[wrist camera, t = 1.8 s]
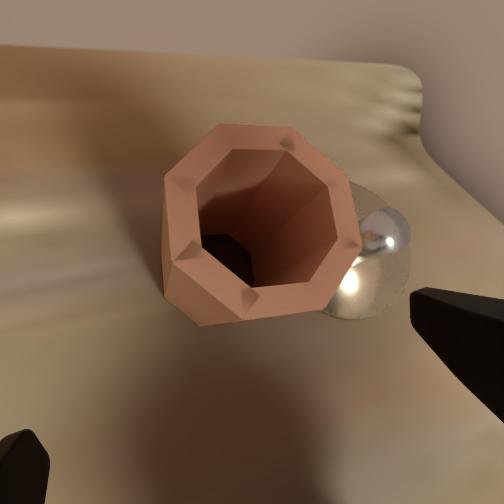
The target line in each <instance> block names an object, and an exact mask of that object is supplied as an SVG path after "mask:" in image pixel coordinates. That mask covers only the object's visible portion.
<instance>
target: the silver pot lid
mask: <svg viewBox="0 0 504 504" xmlns="http://www.w3.org/2000/svg"><path fill="white" fill-rule="evenodd" d="M349 184H350V189H351V193H352V198H353V203H354V208H355V212H356V217H357V222H358V227H359V231H360V236H361V241H362V246H363V247H362V250H361V252H360V253H359V255H358V256H357V258H356V260H355V261H354V263H353V264H352V266H351V268H350V269H349V271H348V272H347V274H346V275H345V277H344V279H343V280H342V282H341V283H340V285H339V287H338V288H337V290H336V291H335V293H334V295H333V296H332V298H331V299H330V301H329V303H328V304H327V306H326V307H325V309H322V310H319V311H321V312H323V313H325V314H327V315H330V316H332V317H336V318H340V319H350V320H351V319H365V318H370V317H374V316H376V315H379V314H381V313H383V312H384V311H386V310H388V309H389V308H390V307H391V306H392V305H394V303H395V302H396V301H397V300H398V299H399V297H400V296H401V294H402V293H403V291H404V289H405V286H406V284H407V281H408V277H409V272H410V249H409V244H408V243H409V240H410V227H409V224H408V222H407V220H406V219H405V217H404V216H403V215H402V214H401V213H400V212H399V211H397V210H395V209H393V208H390V207H389V206H388V205H387V204H386V203H385V202H384V201H383V200H382V199H381V198H380V197H379V196H377V195H376V194H375V193H373V192H371V191H370V190H368V189H366V188H364V187H362V186H359V185H356V184H353V183H349Z"/></svg>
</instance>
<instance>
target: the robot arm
mask: <svg viewBox="0 0 504 504" xmlns="http://www.w3.org/2000/svg"><path fill="white" fill-rule="evenodd" d="M409 299H410V320H411V324H412V326H413V327H414V329H415V330H416V332H417V333H418V334H419V335H420V336H421V337H422V338H423V340H424V341H425V342H426V343H427V344H428V345H429V347H430V348H431V349H432V350H433V351H434V352H435V353H436V355H437V356H438V357H439V358H440V359H441V360H442V361H443V363H444V364H445V365H446V366H447V367H448V368H449V370H450V371H451V372H452V373H453V374H454V375H455V376H456V377H457V378H458V379H459V380H460V381H461V382H462V383H463V384H464V385H465V386H466V387H467V388H468V389H469V390H470V391H471V392H472V393H473V394H474V395H475V396H476V397H477V398H478V399H479V400H480V401H481V402H482V403H483V404H484V405H485V406H486V407H487V408H489V409H490V410H491V411H492V412H493V413H494V414H495V415H496V416H497V417H498V418H499V419H500V420H501V421H502V422H503V423H504V300H503V299H497V298H491V297H485V296H479V295H472V294H466V293H460V292H454V291H448V290H442V289H436V288H429V287H425V288H422V289H419V290H416V291H413V292H412V293H411V294H410V298H409ZM49 470H50V459H49V455H48V453H47V452H46V450H45V449H44V447H43V446H42V444H41V443H40V441H39V440H38V438H37V437H36V435H35V434H34V432H33V431H32V430H30V429H24V430H21V431H18V432H15V433H13V434H10V435H7V436H6V437H4V438H3V439H2V440H1V441H0V504H45V497H46V490H47V483H48V477H49Z"/></svg>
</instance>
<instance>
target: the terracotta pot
mask: <svg viewBox="0 0 504 504" xmlns="http://www.w3.org/2000/svg"><path fill="white" fill-rule="evenodd" d="M215 234H228V235H230V236H231V237H232V238H233V239H234V240H236V241H237V242H238V243H239V244H240V245H242V246H243V247H244V248H245V249H246V250H248V251H249V252H250V253H251V260H252V267H253V274H254V282H255V283H254V284H253V285H252V287H249V286H248V285H247V284H246V283H245V282H243V281H242V280H241V279H240V278H239V277H237V276H236V275H235V274H234V273H232V272H231V271H230V270H229V269H228V268H226V267H225V266H224V265H223V264H221V263H220V262H219V261H218V260H217V259H215V258H214V257H213V256H212V255H211V254H209V253H208V252H207V251H206V250H204V249H203V248H202V246H201V236H200V235H215ZM362 247H363V246H362V241H361V236H360V231H359V227H358V222H357V217H356V212H355V208H354V203H353V198H352V193H351V189H350V184H349V179H348V177H347V175H346V174H344V173H343V172H342V171H341V170H340V169H339V168H338V167H336V166H335V165H334V164H333V163H332V162H331V161H330V160H328V159H327V158H326V157H325V156H324V155H323V154H322V153H320V152H319V151H318V150H317V149H316V148H315V147H314V146H312V145H311V144H310V143H309V142H308V141H307V140H306V139H304V138H303V137H302V136H301V135H300V134H299V133H298V132H296V131H295V130H294V129H293V128H288V127H269V126H250V125H231V124H219V125H217V126H216V127H215V128H214V129H213V130H212V131H211V132H210V133H209V134H208V135H206V136H205V137H204V138H203V139H202V140H201V141H200V142H199V143H198V144H197V145H196V146H195V147H194V148H193V149H192V150H191V151H190V152H189V153H188V154H187V155H186V156H185V157H183V158H182V159H181V160H180V161H179V162H178V163H177V164H176V165H175V166H174V167H173V168H172V169H171V170H170V171H169V172H168V173H167V174H166V175H165V177H164V196H163V220H162V244H161V259H162V272H163V285H164V297H165V299H166V300H168V301H169V302H170V303H171V304H173V305H174V306H175V307H176V308H178V309H179V310H180V311H181V312H183V313H184V314H185V315H186V316H188V317H189V318H190V319H191V320H193V321H194V322H195V323H196V324H198V325H199V326H201V327H202V326H209V325H217V324H224V323H231V322H239V321H246V320H253V319H260V318H267V317H274V316H281V315H288V314H295V313H302V312H309V311H316V310H322V309H325V307H326V306H327V304H328V303H329V301H330V299H331V298H332V296H333V295H334V293H335V291H336V290H337V288H338V287H339V285H340V283H341V282H342V280H343V279H344V277H345V275H346V274H347V272H348V271H349V269H350V268H351V266H352V264H353V263H354V261H355V260H356V258H357V256H358V255H359V253H360V252H361V250H362Z"/></svg>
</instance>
